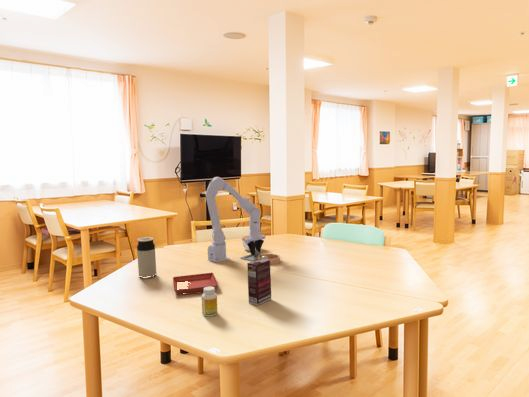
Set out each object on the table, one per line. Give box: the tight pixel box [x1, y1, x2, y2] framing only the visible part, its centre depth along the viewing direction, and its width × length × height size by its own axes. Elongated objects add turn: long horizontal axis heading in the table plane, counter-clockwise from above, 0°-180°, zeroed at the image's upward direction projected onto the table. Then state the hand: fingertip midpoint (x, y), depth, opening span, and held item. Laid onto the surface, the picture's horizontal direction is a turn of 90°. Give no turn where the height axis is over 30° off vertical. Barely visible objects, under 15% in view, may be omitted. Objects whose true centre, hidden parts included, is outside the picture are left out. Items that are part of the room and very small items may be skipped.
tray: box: [240, 252, 263, 262], centre depth 216 cm, size 12×9×1 cm
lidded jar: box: [241, 234, 256, 252], centre depth 233 cm, size 11×11×9 cm
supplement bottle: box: [201, 286, 218, 317], centre depth 143 cm, size 5×5×10 cm
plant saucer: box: [172, 272, 219, 295], centre depth 173 cm, size 18×18×3 cm
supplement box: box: [246, 258, 272, 307], centre depth 154 cm, size 9×5×16 cm, turn 141°
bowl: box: [258, 253, 281, 266], centre depth 208 cm, size 11×11×3 cm
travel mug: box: [136, 236, 157, 277], centre depth 189 cm, size 8×8×18 cm
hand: (255, 254), depth 219 cm, fingers closed on pebble dark, 4 cm apart
